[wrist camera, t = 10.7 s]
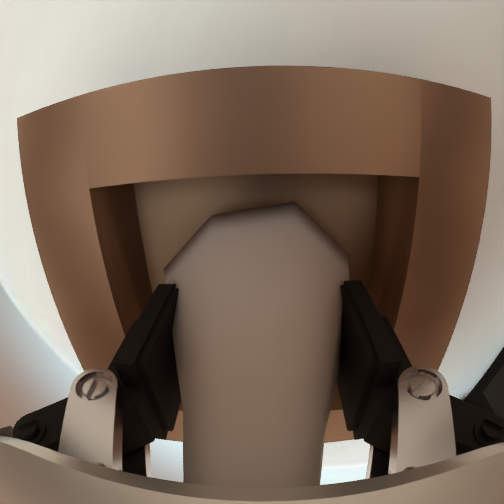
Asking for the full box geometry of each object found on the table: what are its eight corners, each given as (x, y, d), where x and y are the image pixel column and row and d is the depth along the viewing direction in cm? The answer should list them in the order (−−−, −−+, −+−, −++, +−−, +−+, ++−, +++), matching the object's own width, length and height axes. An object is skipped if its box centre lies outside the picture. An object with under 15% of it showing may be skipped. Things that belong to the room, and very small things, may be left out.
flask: (136, 256, 11) (-21, 480, 2) (305, 165, 10) (531, 464, 1) (229, 377, 14) (203, 580, 5) (374, 321, 12) (454, 541, 3)
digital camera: (504, 330, 16) (552, 392, 9) (533, 336, 16) (574, 387, 10) (434, 422, 20) (457, 484, 13) (469, 419, 20) (493, 471, 14)
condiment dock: (429, 100, 11) (490, 98, 6) (387, 375, 17) (407, 429, 13) (80, 114, 11) (17, 118, 7) (139, 378, 18) (118, 431, 14)
